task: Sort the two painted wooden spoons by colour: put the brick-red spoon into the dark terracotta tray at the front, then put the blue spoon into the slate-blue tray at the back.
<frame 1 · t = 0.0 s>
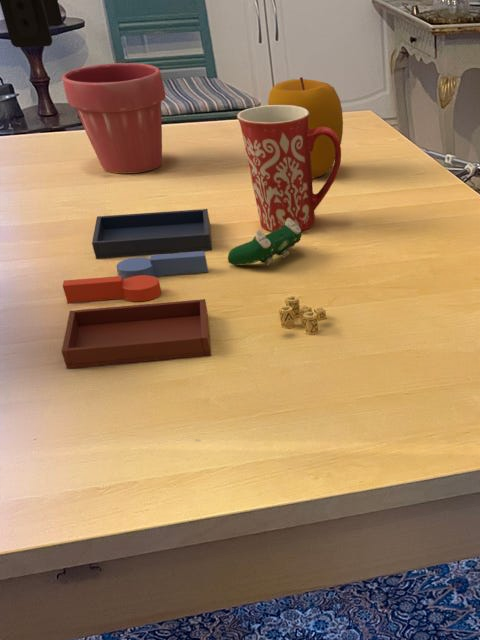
hand: (39, 35, 82), 27 cm above the table, tool pointing down, fingers open, 9 cm apart
red tray: (141, 341, 99), on the table
red spoon: (117, 296, 108), on the table
flower pot: (132, 167, 146), on the table
blue spoon: (162, 273, 113), on the table
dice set: (301, 324, 103), on the table
blue tray: (155, 240, 122), on the table
mug: (300, 226, 127), on the table
green elongated piece: (269, 260, 117), on the table
apple: (312, 174, 144), on the table
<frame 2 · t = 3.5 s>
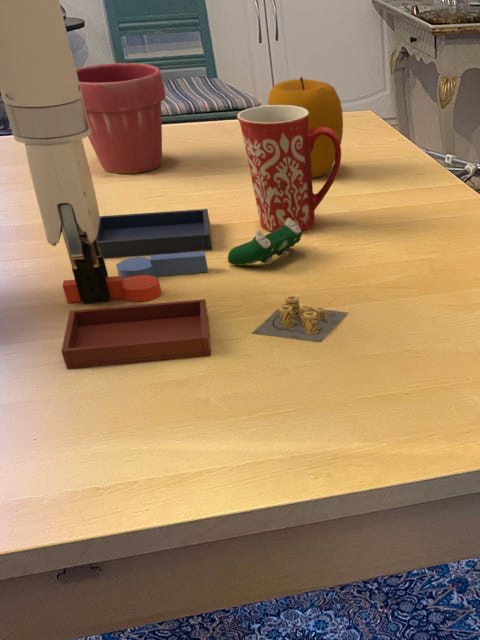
hand: (96, 296, 108), 0 cm above the table, tool pointing down, fingers closed on red spoon, 1 cm apart
red spoon: (117, 296, 108), on the table, touching gripper
everything else where it was.
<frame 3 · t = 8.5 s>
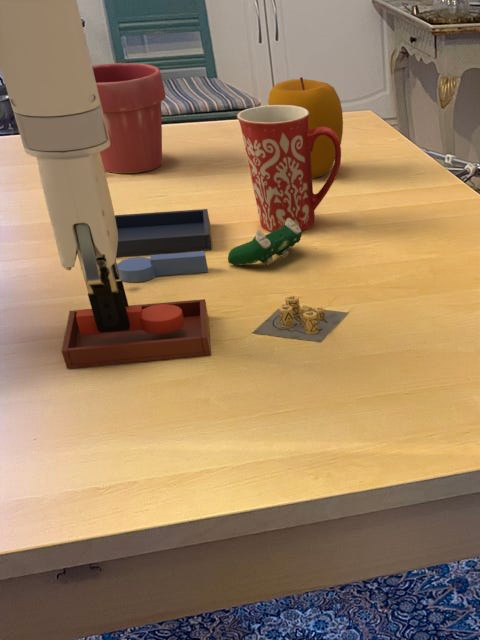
hand: (115, 324, 97), 2 cm above the table, tool pointing down, fingers closed on red spoon, 1 cm apart
red spoon: (135, 327, 98), point 1 cm above the table, touching gripper
everything else where it was.
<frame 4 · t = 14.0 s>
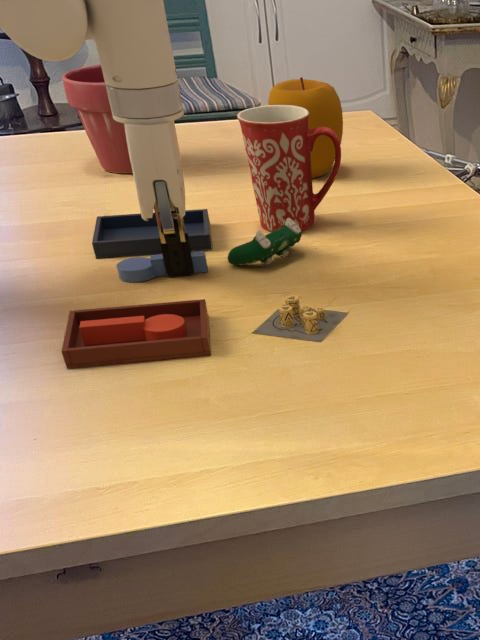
hand: (180, 270, 114), 0 cm above the table, tool pointing down, fingers closed on blue spoon, 1 cm apart
red spoon: (138, 337, 99), resting on red tray
blue spoon: (162, 273, 113), on the table, touching gripper
everything else where it was.
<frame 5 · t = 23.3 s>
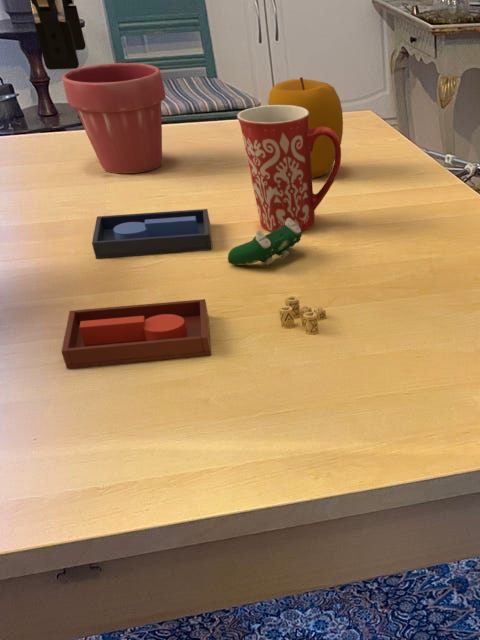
hand: (67, 58, 99), 22 cm above the table, tool pointing down, fingers open, 9 cm apart
blue spoon: (156, 236, 122), resting on blue tray
everything else where it was.
at the end: red spoon inside the target area in the red tray (0.2 cm from its centre), point 0.4 cm above the red tray's base; blue spoon inside the target area in the blue tray (0.2 cm from its centre), point 0.4 cm above the blue tray's base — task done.
